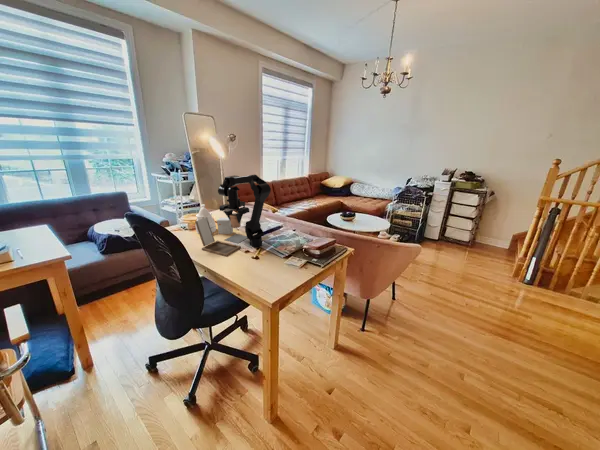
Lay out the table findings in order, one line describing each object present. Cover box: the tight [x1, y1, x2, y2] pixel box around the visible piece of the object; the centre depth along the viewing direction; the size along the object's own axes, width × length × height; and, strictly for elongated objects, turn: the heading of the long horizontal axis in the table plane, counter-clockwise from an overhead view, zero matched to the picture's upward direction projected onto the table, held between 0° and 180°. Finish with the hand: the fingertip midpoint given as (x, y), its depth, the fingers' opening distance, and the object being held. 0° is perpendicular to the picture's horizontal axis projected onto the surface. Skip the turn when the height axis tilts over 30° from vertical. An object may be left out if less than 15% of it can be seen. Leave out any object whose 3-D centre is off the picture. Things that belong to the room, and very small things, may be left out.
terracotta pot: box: [229, 212, 242, 229], centre depth 148 cm, size 6×6×8 cm
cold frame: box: [201, 217, 241, 257], centre depth 137 cm, size 24×12×17 cm, turn 63°
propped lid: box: [194, 217, 216, 247], centre depth 140 cm, size 15×8×1 cm
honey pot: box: [195, 203, 217, 235], centre depth 165 cm, size 13×13×18 cm
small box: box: [216, 217, 234, 235], centre depth 161 cm, size 8×6×10 cm
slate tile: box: [224, 233, 248, 244], centre depth 152 cm, size 11×11×1 cm
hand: (235, 222), depth 148 cm, fingers closed on terracotta pot, 6 cm apart
